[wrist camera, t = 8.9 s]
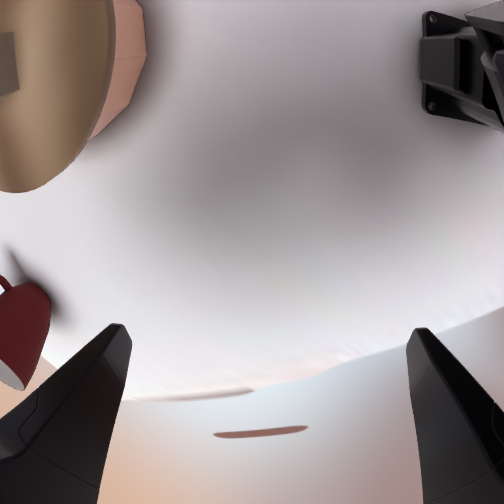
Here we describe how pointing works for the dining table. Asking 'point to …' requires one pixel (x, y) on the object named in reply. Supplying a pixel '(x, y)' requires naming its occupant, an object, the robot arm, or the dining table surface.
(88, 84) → the lid
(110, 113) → the bowl
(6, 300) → the mug
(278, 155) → the dining table surface
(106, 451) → the robot arm
